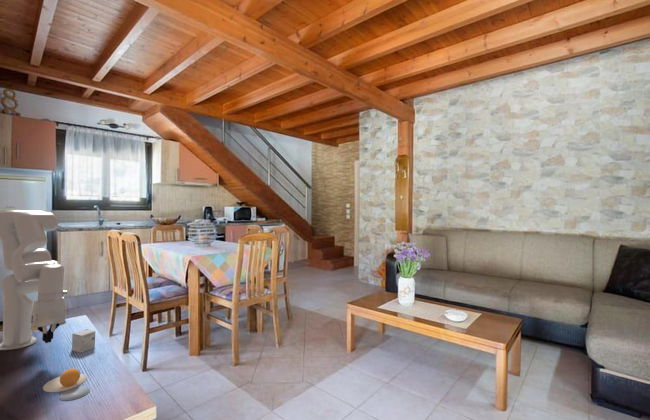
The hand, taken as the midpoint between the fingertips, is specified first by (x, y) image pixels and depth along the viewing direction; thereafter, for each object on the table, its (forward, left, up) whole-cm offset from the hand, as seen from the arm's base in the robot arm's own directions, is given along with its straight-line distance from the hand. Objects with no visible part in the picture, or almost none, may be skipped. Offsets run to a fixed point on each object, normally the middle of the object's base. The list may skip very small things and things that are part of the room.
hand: (47, 341), depth 127 cm
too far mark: (+34, 0, -8) cm, 35 cm away
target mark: (+23, 0, -8) cm, 25 cm away
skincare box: (-4, +13, -9) cm, 16 cm away
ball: (+27, +1, -6) cm, 27 cm away
